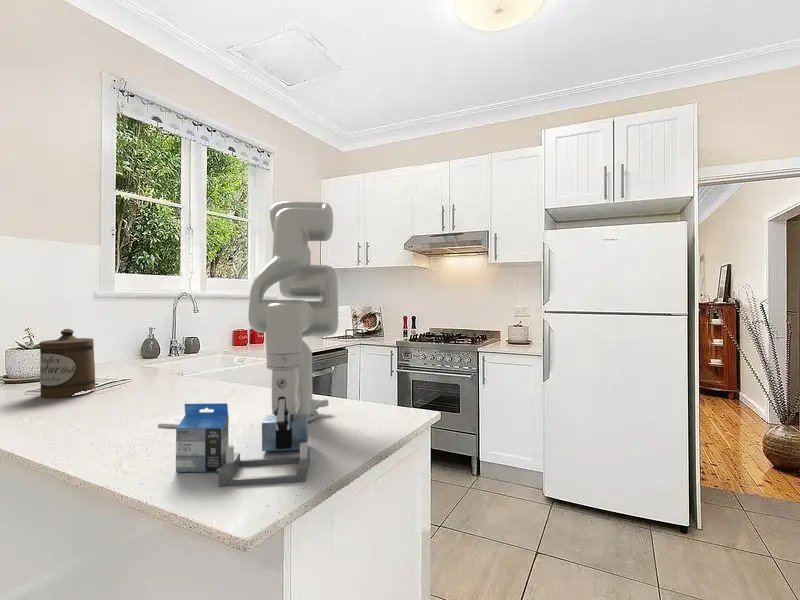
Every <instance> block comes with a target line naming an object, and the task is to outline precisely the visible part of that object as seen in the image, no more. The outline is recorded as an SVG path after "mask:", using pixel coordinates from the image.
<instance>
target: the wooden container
mask: <svg viewBox="0 0 800 600" xmlns="http://www.w3.org/2000/svg"><path fill="white" fill-rule="evenodd" d="M74 333H75V331H74V330H73V329H71V328H65V329H62V330H61V331H60V335H61V336H60V337H59V338H57V339H51V340H43V341H40V342H39V351H40V354H39V357H40V362H39V363H40V365H39V367H40V368H39V370H40V371H39V381H40V382H39V383H40V397H41V398H44V399H64V398H63V397H66V398H70V397H69V396H72V395H74V394H75V393H78V392H81V391H87V390H92V389H94V388H95V389H96V366H95V365H96V364H95V353H94V352H95V350H94V346H95V345H94V339H93V338H89V337H88V338H87V337H82V338H81V337H80V338H79V337H76V336H74V335H73V334H74Z"/></svg>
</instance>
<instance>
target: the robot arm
mask: <svg viewBox="0 0 800 600" xmlns="http://www.w3.org/2000/svg"><path fill="white" fill-rule="evenodd" d="M333 212H334V211H333V209H332V207H331V205H330V204H329V203H327V202H323V201H322V202H318V201H317V202H316V201H315V202H314V201H291V200H290V201H289V200H287V201H279V202H276V203H274V204H272V205H271V207H270V210H269V219H270V226H271V229H272V233H273V241H272V242H273V243H272V245H273V246H272V258H271V261H270V262H269V263H267V264H266V265H265V267H263V268H262V269H261V270H260V271H259V272H258V273H257V275H256V277H255V279H254V280H253V282H252V285H251V288H250V292H249V293H250V294H249V301H248V311H247V312H248V324H249V326H250V328H251V330H253V331H254V332H256V333H265V342H266V343H265V344H266V348H265V349H266V350H265V351H266V352H265V353H266V357H265V358H266V369H267V370H271V414H270V415H273V416H275V417H276V449H290V448H291V447H292V429H290V417H291V416H290V415H293V416H295V415H296V414H308V423H310V422H312V421H314V420H316V419H318V417H319V412H318V409H319V408H325V407H329V404H330V403H329V400H328V398H327V399H326V398H325V399H321V400H320V399H319V398H318V399H314V398H313V353H312V350H311V348H310V346H309V345H308V344H307V343H306V341H304V339H303V338H304V337H328V336H332V335H333V336H334V335H335V334H336V333H337V330H338V328H339V288H338V276H337V272H336V270H335V268H334V267H332V266H330V265H327V264H326V265H324V264H311V259H312V258H311V255H312V253H311V249H310V247H309V242H328V241H329V240H330V239H331V238H332V235H333V230H334V213H333ZM276 283H278V285H279V291H280V294H281V295H282V297H284V298H287V299H264V296H265V293H267V290H268V289H270V288H271V287H272V286H273V285H275V284H276ZM304 299H305V300H304ZM308 299H309V300H311V301H309V300H308ZM313 299H314V301H313ZM316 299H317V300H316ZM306 300H308V301H306ZM285 418H287V421H286V420H285Z"/></svg>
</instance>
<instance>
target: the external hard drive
mask: <svg viewBox="0 0 800 600" xmlns="http://www.w3.org/2000/svg"><path fill="white" fill-rule="evenodd" d="M199 412H214V410H211V411H210V410H199ZM184 416H185V412H184V413H181V414H179V415H177V416H174V417H171V418H170V419H167V420H164V421H162V422H159V423H158V424H157V427H158V426H163V427H162V428H166V427H178V425H179V424H180V423H181V421H182V419H183V418H184Z"/></svg>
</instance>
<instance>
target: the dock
mask: <svg viewBox="0 0 800 600" xmlns="http://www.w3.org/2000/svg"><path fill="white" fill-rule="evenodd" d="M234 448H235V447H234V446H233V445H228V446H227V447H226V463H225V464H224V465H223V467H222V468H221V470H220V471H219V472H217V473H218V474H217V475H218V477H217V479H218V483H217V484H218V486H217V487H227V486H228V487H229V486H231V487H233V486H234V487H235V486H250V485H251V486H252V485H267V484H270V485H271V484H283V483H299V482H300V483H301V482H303V483H304V482H307V481H306V480H307V476H308V472H309V466H310V462H311V458H310V457H311V456H310V455H311V453H310V452H311V451H310V450H311V449H309V448H308V442H307V443H300V449H299V456H287V457H286V456H285V457H284V456H283V457H266V458H246V459H245V458H244V459H243V458H242V459H241V452H235V451H234V450H235V449H234ZM287 464H292V465H293V464H297V466H296V474H282V475H267V476H250V477H247V476H246V477H234V476H235V474H236V473H237V471H238V469H239V468H238V467H246V466H245V465H253V466H269V465H287ZM239 465H240V466H239ZM236 470H237V471H236ZM235 472H236V473H235ZM233 475H234V476H233Z"/></svg>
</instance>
